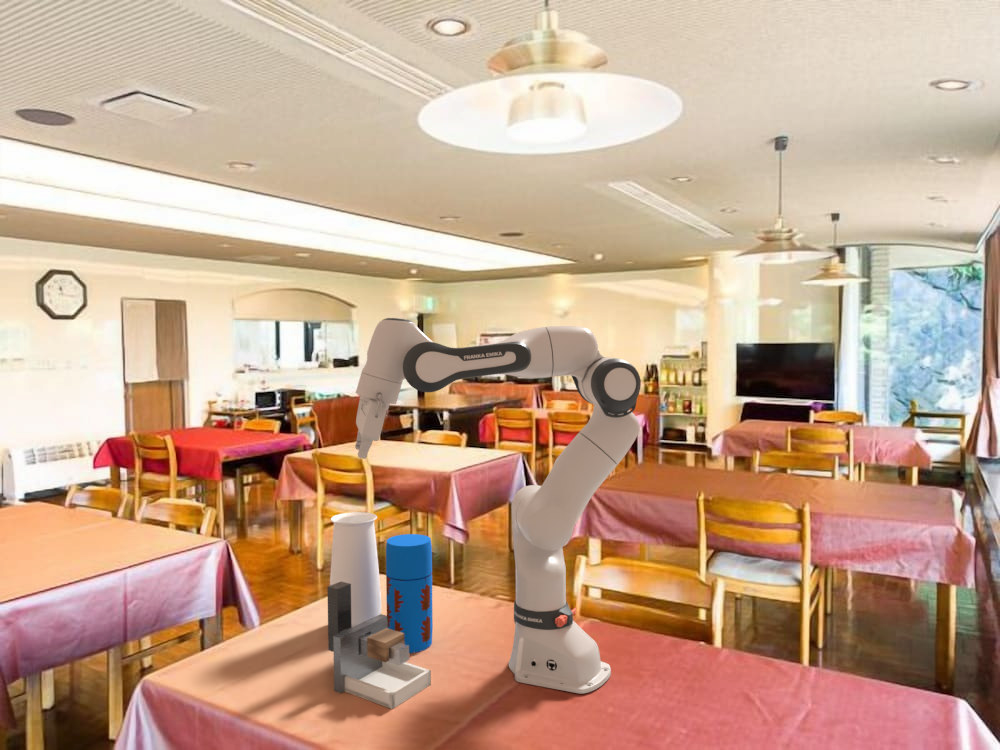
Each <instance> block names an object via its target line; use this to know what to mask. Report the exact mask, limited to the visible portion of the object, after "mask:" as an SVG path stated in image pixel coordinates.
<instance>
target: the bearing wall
mask: <svg viewBox="0 0 1000 750" xmlns="http://www.w3.org/2000/svg"><path fill="white" fill-rule="evenodd" d="M385 628H388V625H387V614H386V615H384V614H382V613H381V614H380V615H378V616H375V617H373V618H371V619H369V620H367V621H365V622H363V623H360V624H358V625H356V626H354V627H352V628H350V629H348V630H345V631H343V632H341V633H339V634H337V635H335V636H333V642H334V652H333V689H334V690H333V691H334V692H336V693H339V694H343V693H346V692H345V677H346V676H350V677H353V678H355V679H358V680H359V679H361V678H363V677H365V676H367V675H368V674H370V673H372V672H374V671H376V670H377V669H379V668H381V667H382V661H379V660H376V659H373V658H370V657H367V655H366V654H363V653H360V652H359V643H358V637H360V636H362V635H364V634H366V633H370V634H375V633H377V632H379V631H381V630H383V629H385Z"/></svg>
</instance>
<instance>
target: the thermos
mask: <svg viewBox="0 0 1000 750" xmlns="http://www.w3.org/2000/svg"><path fill="white" fill-rule="evenodd" d="M432 549H433V545H432V539H431V537H430V536H428V535H425V534H417V533H412V534H411V533H406V534H398V535H394V536H391V537H389V538H388V539H387V540H386V546H385V568H386V570H385V577H386V578H385V580H386V583H385V585H386V587H385V588H386V616H387V625H388V629H392V630H395V631H398V632H402V633H404V644H406V645H409V654H413V653H420V652H423V651H425V650H427V649H429V648H431V646H432V644H433V629H434V628H433V624H434V623H433V550H432Z"/></svg>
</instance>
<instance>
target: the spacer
mask: <svg viewBox="0 0 1000 750" xmlns="http://www.w3.org/2000/svg"><path fill="white" fill-rule="evenodd" d="M398 643H403V644H404V633H402V632H398V631H395V630H392V629H388V628H385V629H383V630H381V631H379V632H377V633H375V634H373V635H371V636H369V637H367V657H370V658H373V659H376V660H379V661H382V662H387V661H389V648H391V647H393V646H394V645H396V644H398Z"/></svg>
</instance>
